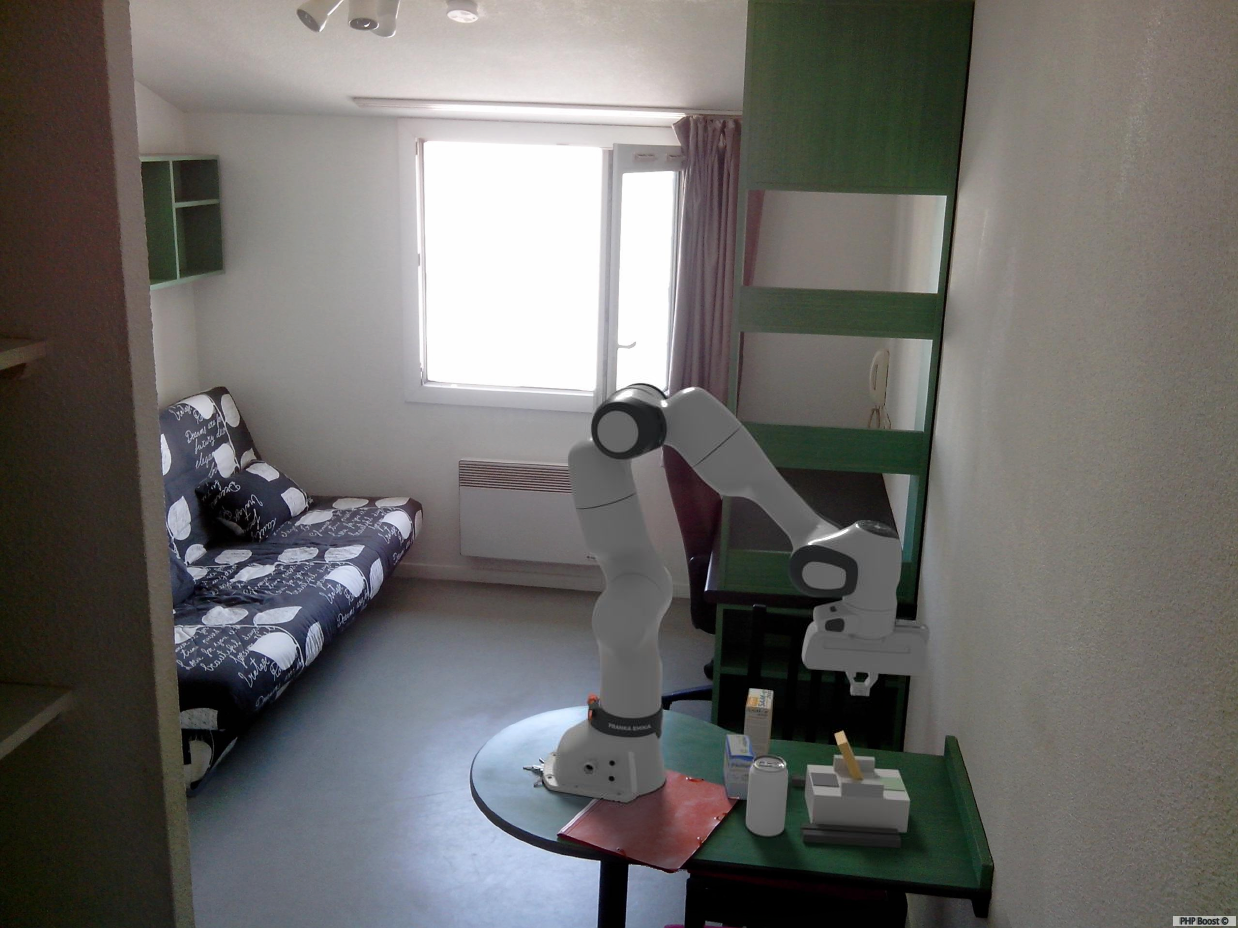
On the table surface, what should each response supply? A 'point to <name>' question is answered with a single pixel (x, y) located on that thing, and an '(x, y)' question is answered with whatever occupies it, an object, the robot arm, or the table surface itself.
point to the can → (767, 795)
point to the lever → (848, 756)
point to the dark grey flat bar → (850, 835)
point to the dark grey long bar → (798, 780)
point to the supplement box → (759, 720)
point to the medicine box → (737, 765)
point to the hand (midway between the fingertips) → (859, 694)
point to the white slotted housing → (856, 795)
